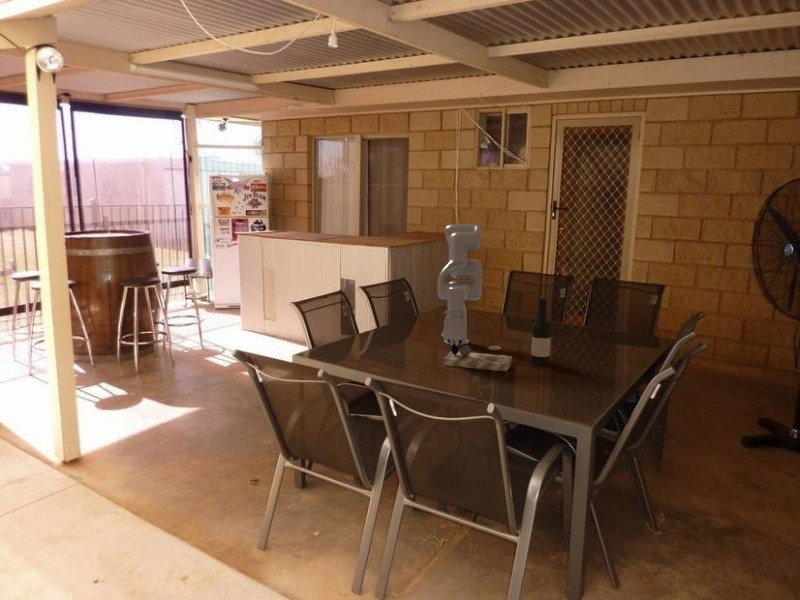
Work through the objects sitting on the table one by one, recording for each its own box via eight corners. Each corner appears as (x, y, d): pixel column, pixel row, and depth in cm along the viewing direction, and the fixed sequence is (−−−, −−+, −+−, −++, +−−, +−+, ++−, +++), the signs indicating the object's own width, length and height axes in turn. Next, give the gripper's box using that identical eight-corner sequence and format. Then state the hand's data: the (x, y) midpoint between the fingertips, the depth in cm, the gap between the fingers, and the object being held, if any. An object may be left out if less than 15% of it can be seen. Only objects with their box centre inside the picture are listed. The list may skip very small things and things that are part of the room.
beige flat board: (443, 365, 269) (443, 358, 268) (451, 357, 282) (451, 350, 281) (507, 371, 260) (507, 364, 259) (511, 362, 273) (512, 356, 272)
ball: (457, 356, 272) (457, 345, 271) (463, 354, 276) (463, 343, 275) (466, 358, 269) (467, 347, 268) (472, 356, 272) (473, 345, 272)
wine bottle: (536, 366, 267) (539, 299, 262) (527, 361, 275) (530, 296, 270) (553, 365, 269) (556, 298, 264) (543, 360, 277) (547, 295, 272)
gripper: (437, 314, 269) (436, 354, 272) (470, 316, 264) (469, 357, 267) (441, 311, 276) (441, 350, 279) (474, 313, 271) (473, 353, 274)
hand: (454, 353), depth 273 cm, fingers closed
